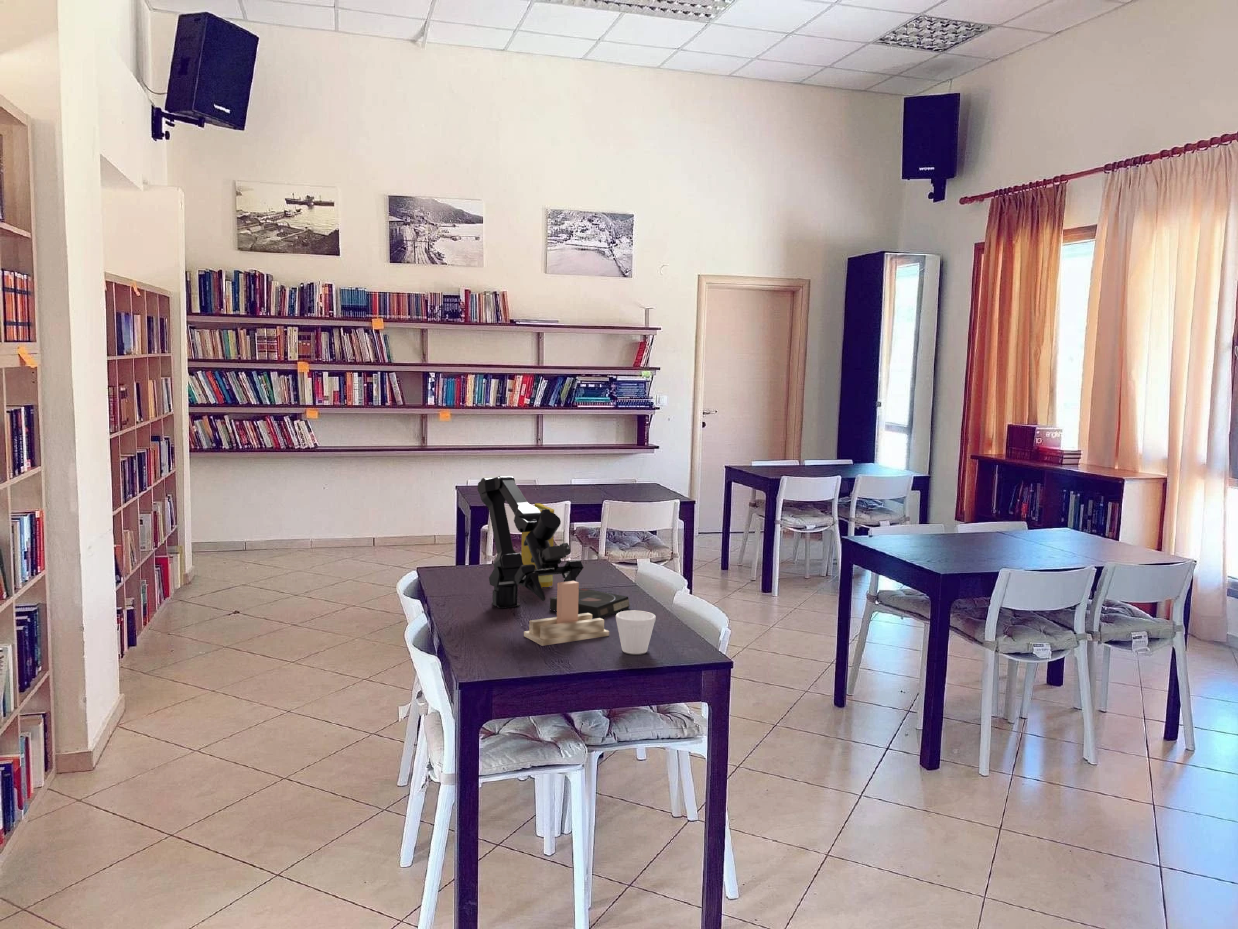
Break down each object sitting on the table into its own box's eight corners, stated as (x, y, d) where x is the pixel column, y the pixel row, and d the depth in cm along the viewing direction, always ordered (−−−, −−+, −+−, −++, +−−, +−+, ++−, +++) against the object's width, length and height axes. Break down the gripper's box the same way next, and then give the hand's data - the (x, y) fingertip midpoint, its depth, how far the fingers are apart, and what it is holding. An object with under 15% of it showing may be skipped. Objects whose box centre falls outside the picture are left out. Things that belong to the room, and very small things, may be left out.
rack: (589, 626, 253) (589, 611, 253) (609, 635, 245) (609, 620, 245) (523, 636, 242) (524, 620, 242) (542, 645, 234) (542, 629, 234)
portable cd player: (598, 621, 261) (598, 607, 260) (549, 611, 270) (550, 598, 270) (629, 610, 275) (630, 597, 274) (582, 601, 284) (582, 588, 283)
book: (519, 577, 312) (520, 503, 309) (538, 576, 315) (540, 503, 312) (536, 588, 296) (538, 511, 294) (556, 587, 299) (558, 510, 297)
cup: (613, 645, 236) (614, 610, 235) (652, 646, 237) (653, 610, 236) (616, 657, 226) (617, 620, 225) (656, 658, 227) (658, 620, 226)
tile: (556, 631, 243) (557, 582, 242) (572, 629, 246) (573, 580, 245) (561, 633, 241) (562, 584, 240) (577, 631, 244) (578, 582, 243)
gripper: (520, 535, 244) (539, 585, 236) (581, 530, 254) (601, 578, 246) (506, 559, 251) (524, 608, 243) (566, 553, 262) (585, 601, 254)
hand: (559, 598), depth 246 cm, fingers open, 9 cm apart
